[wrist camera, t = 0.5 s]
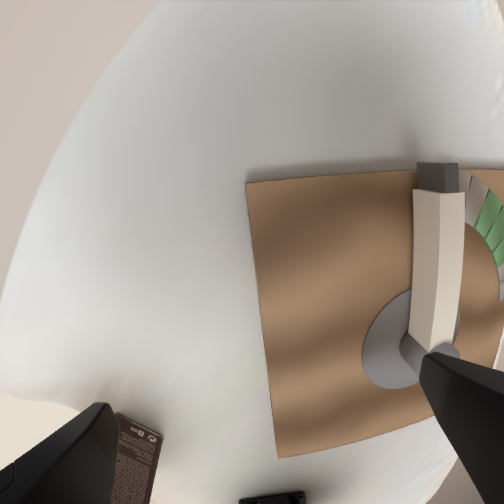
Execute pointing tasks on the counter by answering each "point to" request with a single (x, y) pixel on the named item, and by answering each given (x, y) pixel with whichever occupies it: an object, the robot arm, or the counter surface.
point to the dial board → (360, 299)
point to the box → (135, 463)
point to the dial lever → (435, 262)
